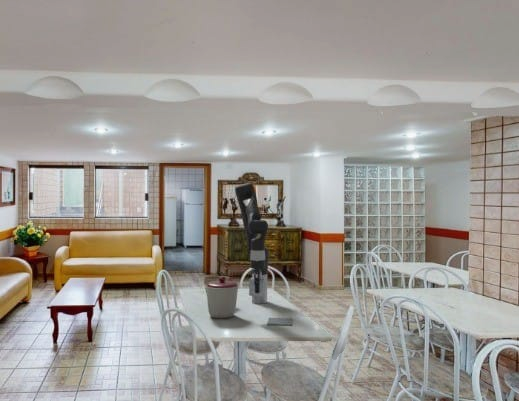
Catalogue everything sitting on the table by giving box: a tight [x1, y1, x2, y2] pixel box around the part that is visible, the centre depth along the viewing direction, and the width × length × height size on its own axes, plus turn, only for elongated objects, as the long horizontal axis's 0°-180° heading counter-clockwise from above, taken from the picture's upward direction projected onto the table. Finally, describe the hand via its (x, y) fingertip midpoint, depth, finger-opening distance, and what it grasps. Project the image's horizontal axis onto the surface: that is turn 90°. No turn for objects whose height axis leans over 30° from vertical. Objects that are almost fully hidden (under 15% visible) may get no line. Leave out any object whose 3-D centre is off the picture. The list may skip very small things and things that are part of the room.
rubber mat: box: [266, 317, 293, 327], centre depth 216 cm, size 12×12×1 cm
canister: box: [204, 275, 240, 319], centre depth 226 cm, size 18×18×21 cm
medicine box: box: [248, 277, 266, 297], centre depth 220 cm, size 8×4×9 cm, turn 72°
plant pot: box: [203, 275, 230, 295], centre depth 253 cm, size 15×15×16 cm
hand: (257, 291), depth 220 cm, fingers closed on medicine box, 5 cm apart
